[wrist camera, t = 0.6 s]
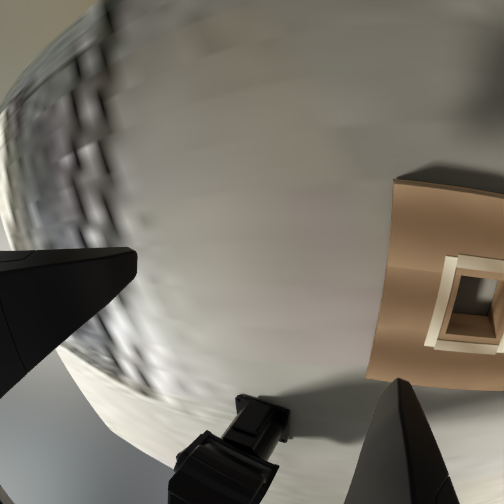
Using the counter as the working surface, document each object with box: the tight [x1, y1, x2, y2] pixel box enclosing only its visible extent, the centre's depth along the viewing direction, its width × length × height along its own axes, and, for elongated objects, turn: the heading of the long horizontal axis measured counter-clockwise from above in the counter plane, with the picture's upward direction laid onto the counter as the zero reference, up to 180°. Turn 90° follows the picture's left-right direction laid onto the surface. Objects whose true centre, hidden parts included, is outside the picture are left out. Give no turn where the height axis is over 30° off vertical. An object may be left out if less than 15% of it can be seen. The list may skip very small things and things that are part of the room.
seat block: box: [366, 179, 504, 391], centre depth 15 cm, size 14×14×3 cm
